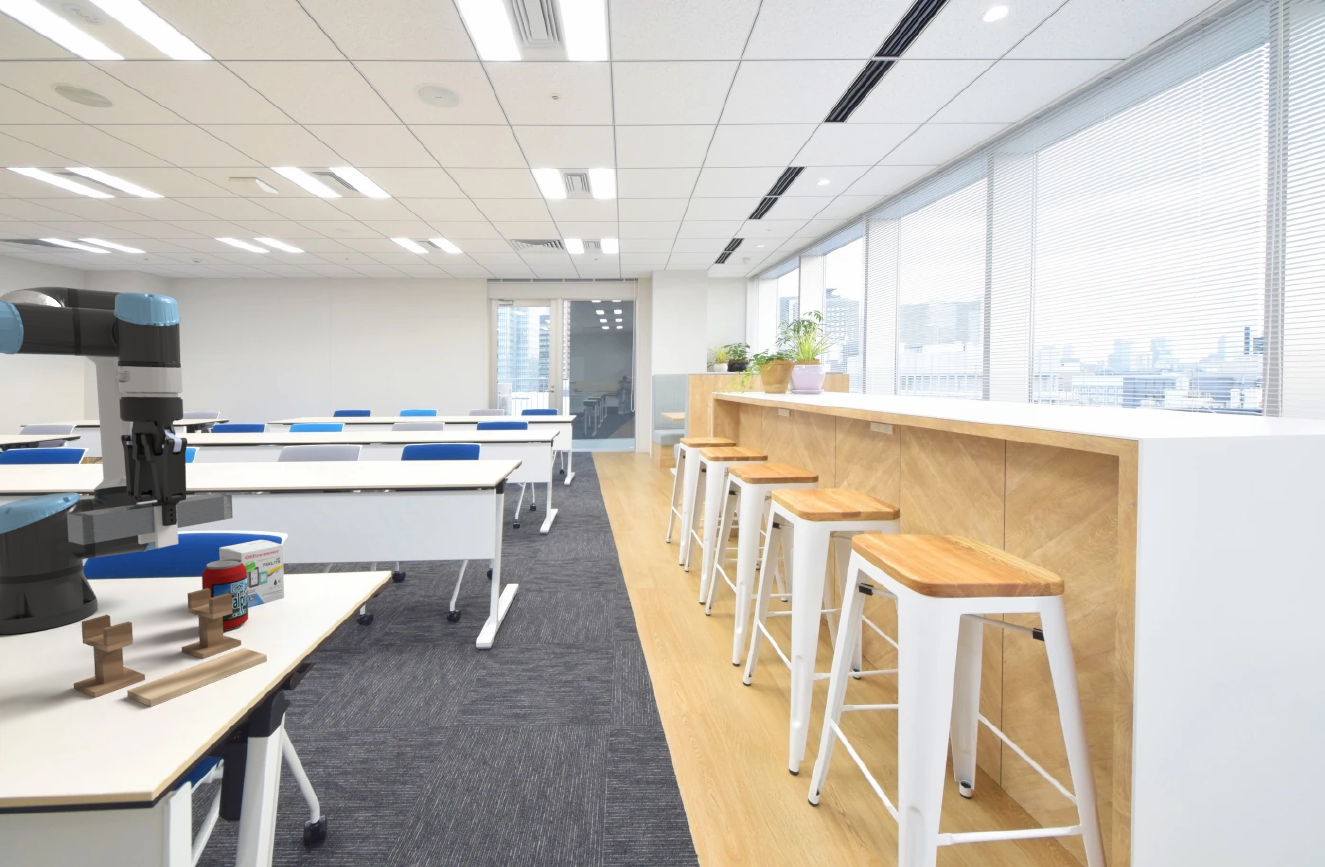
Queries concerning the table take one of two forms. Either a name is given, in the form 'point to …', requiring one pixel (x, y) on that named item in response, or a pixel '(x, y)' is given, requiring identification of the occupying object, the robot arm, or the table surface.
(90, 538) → the rail
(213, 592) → the beverage can
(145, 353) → the robot arm
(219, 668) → the light wooden board
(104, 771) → the table surface
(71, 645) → the table surface
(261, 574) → the ink box
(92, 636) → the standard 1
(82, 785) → the table surface
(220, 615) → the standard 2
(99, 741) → the table surface
